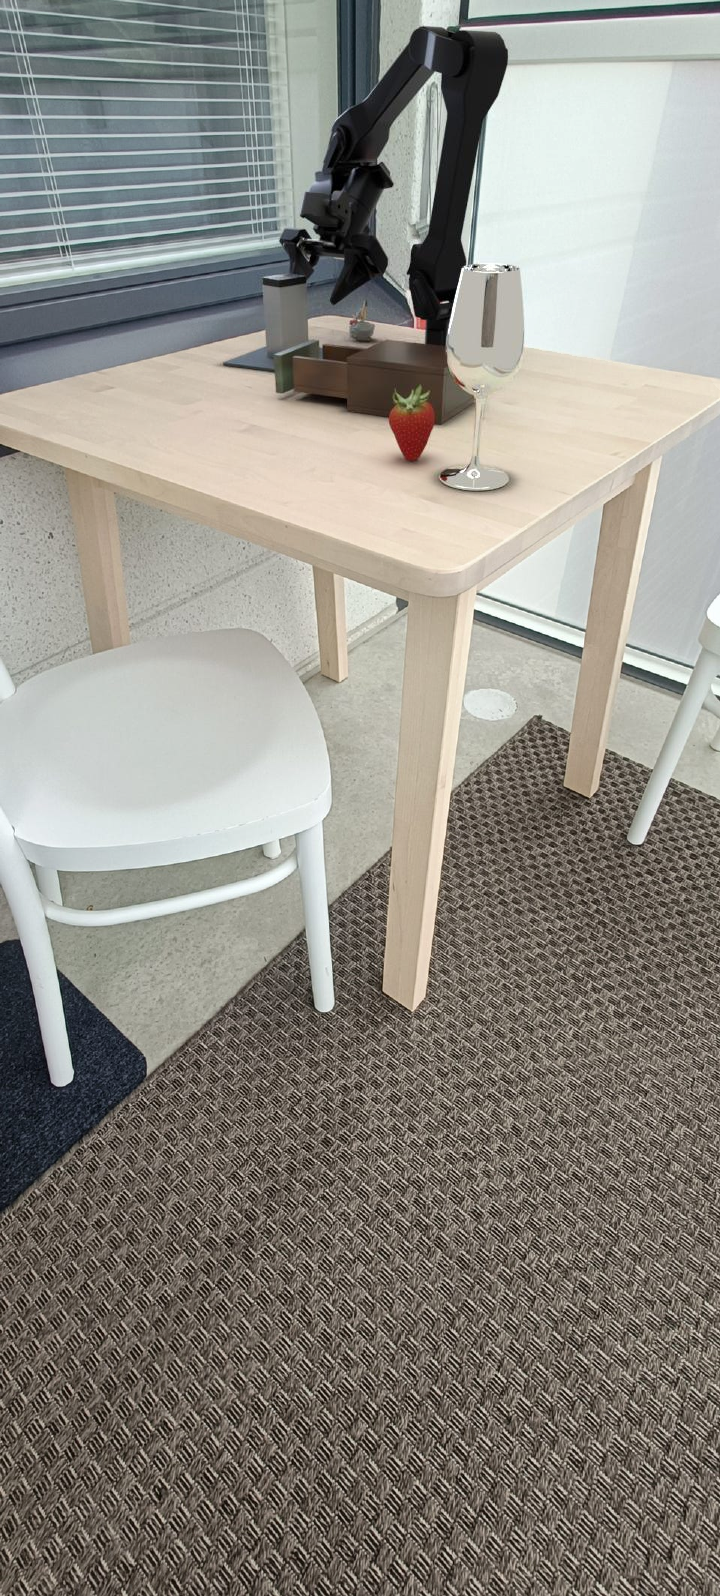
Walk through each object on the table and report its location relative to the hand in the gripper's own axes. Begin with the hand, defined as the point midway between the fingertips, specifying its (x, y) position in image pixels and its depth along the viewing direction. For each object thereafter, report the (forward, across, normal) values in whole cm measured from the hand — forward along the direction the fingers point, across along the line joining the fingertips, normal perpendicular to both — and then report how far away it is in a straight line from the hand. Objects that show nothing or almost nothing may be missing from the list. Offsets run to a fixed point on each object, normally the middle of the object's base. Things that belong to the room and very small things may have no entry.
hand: (309, 300), depth 138 cm
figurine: (-3, 0, +15) cm, 15 cm away
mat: (+9, 0, +1) cm, 10 cm away
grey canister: (+9, 0, +1) cm, 9 cm away
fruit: (+29, +45, -18) cm, 56 cm away
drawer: (+17, +19, -8) cm, 27 cm away
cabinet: (+16, +32, -5) cm, 36 cm away
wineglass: (+29, +54, -18) cm, 64 cm away
